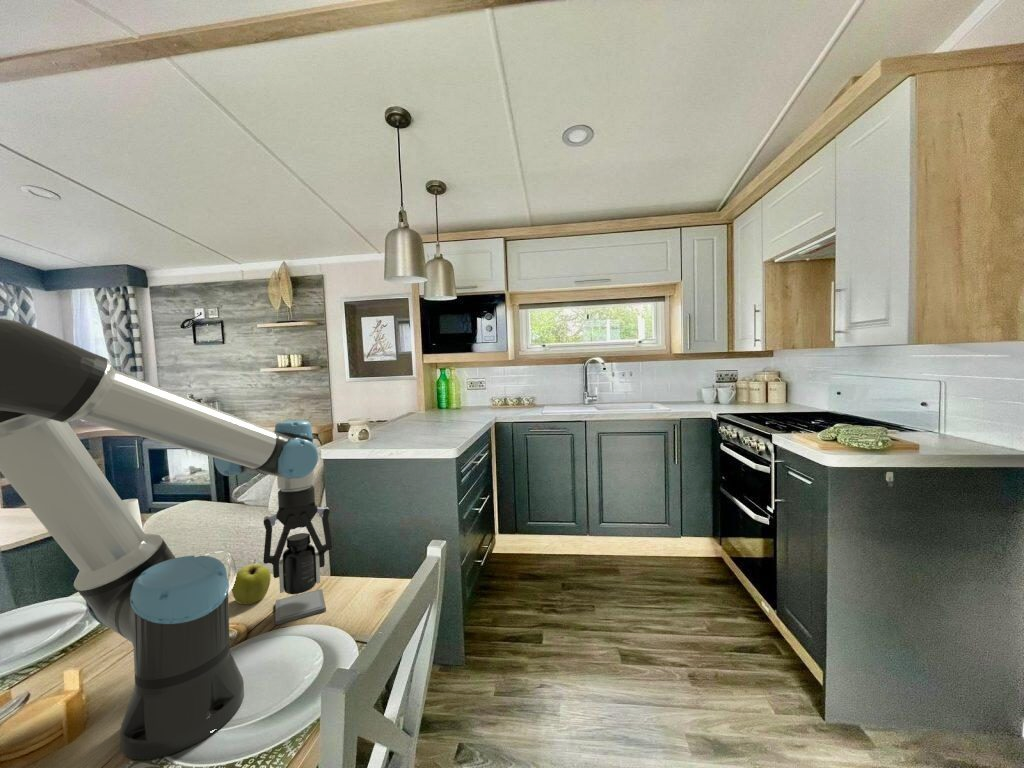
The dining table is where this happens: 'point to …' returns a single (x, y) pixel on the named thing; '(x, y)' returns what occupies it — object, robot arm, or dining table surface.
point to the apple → (251, 584)
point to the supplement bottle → (299, 564)
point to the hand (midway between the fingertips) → (300, 585)
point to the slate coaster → (299, 606)
